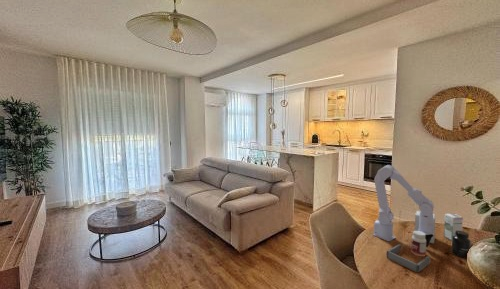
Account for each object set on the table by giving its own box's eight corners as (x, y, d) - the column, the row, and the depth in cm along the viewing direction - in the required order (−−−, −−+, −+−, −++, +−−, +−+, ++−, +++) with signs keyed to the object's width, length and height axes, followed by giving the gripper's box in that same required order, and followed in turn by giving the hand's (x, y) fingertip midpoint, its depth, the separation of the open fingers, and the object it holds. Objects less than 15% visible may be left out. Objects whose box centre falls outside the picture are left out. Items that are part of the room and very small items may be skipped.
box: (386, 257, 109) (386, 251, 109) (399, 250, 115) (399, 243, 115) (417, 272, 97) (418, 265, 97) (429, 263, 103) (430, 256, 103)
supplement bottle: (464, 259, 106) (465, 236, 105) (448, 252, 112) (449, 230, 111) (473, 257, 108) (474, 234, 107) (457, 249, 114) (458, 228, 113)
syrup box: (462, 241, 122) (463, 217, 121) (452, 241, 123) (453, 217, 121) (453, 236, 128) (454, 213, 127) (443, 236, 128) (444, 213, 127)
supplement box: (434, 237, 127) (435, 213, 126) (434, 244, 120) (435, 218, 119) (415, 233, 133) (416, 210, 132) (414, 238, 126) (414, 214, 125)
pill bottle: (408, 250, 115) (408, 230, 114) (418, 249, 115) (419, 229, 114) (418, 257, 108) (418, 236, 108) (428, 256, 109) (429, 235, 108)
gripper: (429, 228, 108) (428, 254, 109) (440, 221, 115) (439, 245, 116) (413, 223, 114) (412, 247, 115) (425, 217, 121) (424, 240, 122)
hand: (425, 246), depth 116 cm, fingers closed
